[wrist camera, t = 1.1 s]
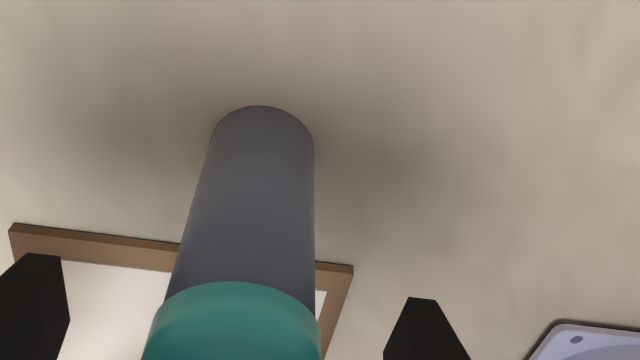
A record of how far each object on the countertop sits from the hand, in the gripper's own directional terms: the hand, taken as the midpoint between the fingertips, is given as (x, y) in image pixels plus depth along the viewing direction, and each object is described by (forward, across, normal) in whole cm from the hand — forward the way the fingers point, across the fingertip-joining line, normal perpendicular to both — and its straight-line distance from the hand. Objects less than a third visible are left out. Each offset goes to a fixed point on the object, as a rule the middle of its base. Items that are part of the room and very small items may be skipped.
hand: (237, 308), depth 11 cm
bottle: (+6, 0, 0) cm, 6 cm away
